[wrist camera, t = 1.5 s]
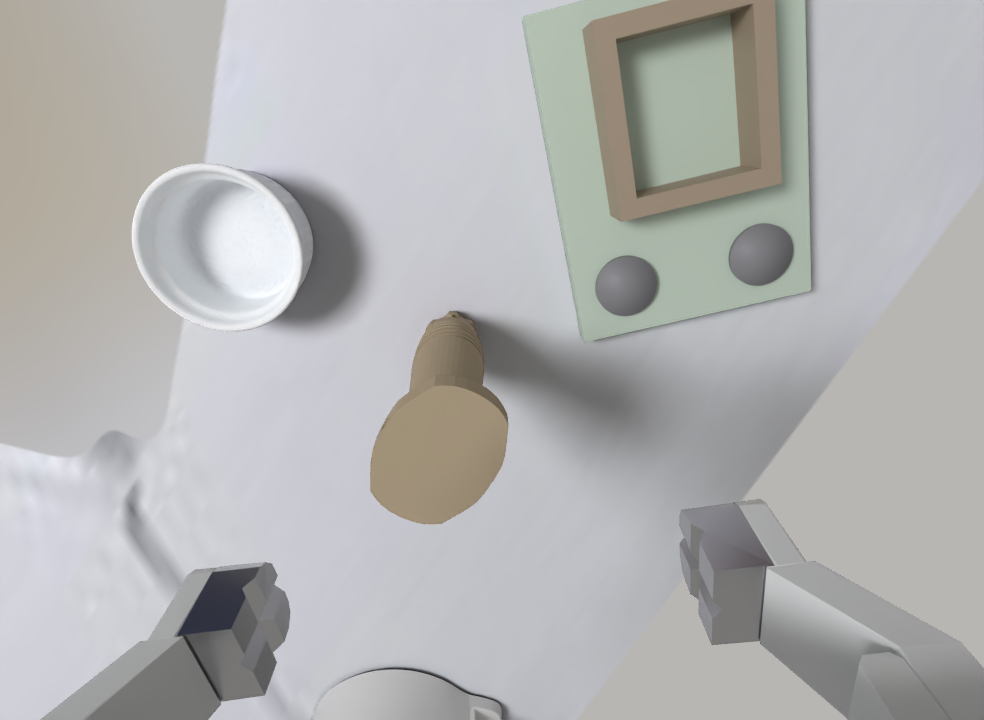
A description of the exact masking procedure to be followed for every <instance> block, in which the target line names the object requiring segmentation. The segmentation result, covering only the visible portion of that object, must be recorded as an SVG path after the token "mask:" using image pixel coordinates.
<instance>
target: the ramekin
mask: <svg viewBox="0 0 984 720" xmlns="http://www.w3.org/2000/svg"><path fill="white" fill-rule="evenodd" d="M132 246H133V251H134V256H135V259H136V262H137V265H138V267H139V270H140V272H141V274H142V275H143V277H144V279H145V281H146V282H147V284H148V285H149V287H150V289H151V290H152V291H153V292H154V293H155V294H156V296H157V297H158V298H159V299H160V300H161V301H162V302H163V303H164V304H165V305H167V306H168V307H169V308H170V309H171V310H173V311H174V312H175V313H177V314H179V315H180V316H182V317H183V318H185V319H187V320H189V321H191V322H193V323H196V324H198V325H200V326H203V327H206V328H209V329H214V330H220V331H245V330H251V329H254V328H257V327H260V326H262V325H265V324H267V323H269V322H271V321H272V320H274V319H275V318H277V317H278V316H279V315H280V314H281V313H283V312H284V311H285V310H286V308H287V307H288V306H289V305H290V304H291V302H292V301H293V299H294V297H295V296H296V294H297V292H298V289H299V287H300V286H301V285H302V283H303V281H304V279H305V277H306V275H307V272H308V270H309V267H310V264H311V260H312V257H313V246H314V244H313V236H312V232H311V227H310V225H309V222H308V220H307V217H306V215H305V213H304V212H303V210H302V208H301V207H300V205H299V204H298V202H297V201H296V200H295V199H294V198H293V197H292V195H291V194H290V193H289V192H288V191H286V190H285V189H284V188H283V187H282V186H281V185H279V184H277V183H276V182H275V181H273V180H272V179H269V178H267V177H266V176H264V175H260V174H257V173H255V172H251V171H246V170H242V169H235V168H232V167H228V166H224V165H219V164H211V163H195V164H189V165H184V166H181V167H178V168H175V169H173V170H170V171H168V172H166V173H164V174H163V175H161V176H160V177H159V178H157V179H156V180H155V181H154V182H153V183H152V184H151V185H150V186H149V187H148V188H147V189H146V191H145V192H144V193H143V195H142V197H141V199H140V201H139V202H138V204H137V208H136V210H135V214H134V218H133V224H132Z"/></svg>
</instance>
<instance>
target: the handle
mask: <svg viewBox="0 0 984 720" xmlns="http://www.w3.org/2000/svg"><path fill="white" fill-rule="evenodd" d="M483 376H484V357H483V350H482V346H481V342H480V339H479V337H478V334H477V333H476V326H475V324H474V323H473V321H472V320H470V319H469V320H468V319H465V318H463V317H461V316H460V315H459V314H458V313H457V312H456V311H450V312H449V313H448V314H447V315H446V316H444V317H443V318H440V319H437V320H432V321H431V322H430V323H429V325H428V327H427V329H426V332H425V333H424V335H423V336H422V339H421V341H420V343H419V345H418V347H417V350H416V354H415V357H414V360H413V364H412V373H411V382H410V390H409V393H407V394H406V395H405V396H404V397H402V398H401V399H400V400H399V401H398V402H397V403H396V404H395V406H394V407H393V409H392V410H391V412H390V413H389V415H388V417H387V418H386V420H385V422H384V424H383V426H382V427H381V429H380V431H379V434H378V436H377V438H376V441H375V445H374V448H373V452H372V458H371V472H370V491H371V493H372V494H373V496H374V497H375V498H376V500H377V501H378V502H379V503H380V504H381V505H382V506H383V507H385V508H386V509H387V510H389V511H390V512H392V513H394V514H396V515H398V516H399V517H402V518H404V519H407V520H410V521H413V522H417V523H422V524H442V523H444V522H445V521H447V520H449V519H451V518H453V517H454V516H456V515H458V514H459V513H461V512H463V511H465V510H466V509H468V508H469V507H471V506H472V505H473V504H475V503H476V502H477V501H478V500H479V499H480V498H481V497H482V495H483V494H484V493H485V492H486V490H487V489H488V487H489V486H490V484H491V483H492V481H493V480H494V479H495V477H496V476H497V474H498V472H499V470H500V468H501V467H502V464H503V460H504V457H505V451H506V443H507V434H508V417H507V413H506V411H505V409H504V407H503V405H502V403H501V402H500V401H499V399H498V398H497V397H496V396H495V395H494V394H493V393H492V392H491V391H490V390H488V389H487V388H485V387H484V386H482V384H483Z"/></svg>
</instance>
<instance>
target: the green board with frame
mask: <svg viewBox="0 0 984 720" xmlns="http://www.w3.org/2000/svg"><path fill="white" fill-rule="evenodd" d="M522 25H523V30H524V35H525V41H526V46H527V51H528V57H529V62H530V68H531V73H532V78H533V84H534V89H535V94H536V100H537V105H538V111H539V116H540V121H541V127H542V132H543V137H544V143H545V148H546V154H547V159H548V164H549V170H550V175H551V180H552V186H553V191H554V197H555V202H556V207H557V213H558V218H559V223H560V229H561V234H562V240H563V245H564V250H565V256H566V261H567V266H568V272H569V277H570V283H571V288H572V293H573V299H574V304H575V309H576V315H577V320H578V326H579V331H580V335H581V337H582V339H583V341H584V342H588V341H593V340H597V339H601V338H606V337H610V336H615V335H619V334H623V333H628V332H632V331H637V330H641V329H645V328H650V327H654V326H659V325H663V324H667V323H672V322H676V321H680V320H685V319H689V318H694V317H698V316H702V315H707V314H711V313H716V312H720V311H724V310H729V309H733V308H738V307H742V306H746V305H751V304H755V303H760V302H764V301H768V300H773V299H777V298H781V297H786V296H790V295H795V294H799V293H803V292H808V291H811V254H810V207H809V160H808V112H807V65H806V18H805V0H584V1H580V2H576V3H572V4H569V5H565V6H561V7H557V8H553V9H550V10H546V11H542V12H538V13H535V14H531V15H527V16H524V18H523V21H522Z"/></svg>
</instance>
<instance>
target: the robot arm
mask: <svg viewBox="0 0 984 720" xmlns="http://www.w3.org/2000/svg"><path fill="white" fill-rule="evenodd" d="M679 526H680V528H681V531H682V533H683V535H684V539H683V540H682V541H681V542H680V559H681V565H682V571H683V574H684V578H685V581H686V584H687V586H688V589H689V591H690V594H692V595H693V596H694V597H696V598H697V599H699V615H700V618H701V620H702V623H703V625H704V627H705V630H706V632H707V635H708V637H709V640H710V642H711V644H712V645H718V644H728V643H741V642H753V641H760V644H761V645H762V646H764V647H765V648H766V649H767V650H768V651H769V652H771V653H772V654H773V655H774V656H775V657H776V658H778V659H779V660H780V661H781V662H782V663H783V664H784V665H786V666H787V667H788V668H789V669H790V670H791V671H793V672H794V673H795V674H796V675H797V676H798V677H800V678H801V679H802V680H803V681H804V682H805V683H807V684H808V685H809V686H810V687H811V688H812V689H814V690H815V691H816V692H817V693H818V694H819V695H821V696H822V697H823V698H824V699H825V700H826V701H827V702H829V703H830V704H831V705H832V706H833V707H834V708H836V709H837V710H838V711H839V712H840V713H842V714H843V715H844V716H845V717H846V718H847V719H848V720H984V668H983V667H982V666H981V664H980V663H979V662H978V661H977V660H976V659H975V657H974V656H973V655H972V654H971V653H970V652H969V651H968V649H967V648H966V647H965V646H964V645H963V644H962V642H960V641H958V640H957V639H955V638H953V637H951V636H949V635H947V634H946V633H944V632H942V631H940V630H938V629H937V628H935V627H933V626H931V625H929V624H928V623H926V622H924V621H922V620H920V619H919V618H917V617H915V616H913V615H911V614H909V613H908V612H906V611H904V610H902V609H900V608H899V607H897V606H895V605H893V604H891V603H890V602H888V601H886V600H884V599H882V598H881V597H879V596H877V595H875V594H873V593H872V592H870V591H868V590H866V589H864V588H863V587H861V586H859V585H857V584H855V583H853V582H852V581H850V580H848V579H846V578H844V577H843V576H841V575H839V574H837V573H835V572H833V571H832V570H830V569H828V568H826V567H825V566H823V565H821V564H819V563H817V562H816V561H811V562H806V561H805V559H804V558H803V556H802V555H801V553H800V552H799V551H798V549H797V548H796V546H795V545H794V543H793V542H792V540H791V539H790V537H789V536H788V535H787V533H786V532H785V530H784V529H783V527H782V526H781V524H780V523H779V522H778V520H777V519H776V517H775V516H774V514H773V513H772V511H771V510H770V509H769V507H768V506H767V504H766V503H765V502H764V501H763V500H761V499H756V500H750V501H742V502H735V503H733V504H732V503H729V504H722V505H715V506H707V507H700V508H692V509H685V510H681V512H680V522H679ZM277 576H278V575H277V573H276V571H275V569H274V567H273V565H272V564H271V563H267V562H263V563H253V564H243V565H233V566H223V567H218V568H209V569H197V570H194V571H193V572H191V573H190V574H188V575H187V577H186V579H185V580H184V582H183V584H182V585H181V587H180V588H179V590H178V592H177V593H176V595H175V597H174V598H173V600H172V602H171V603H170V605H169V606H168V608H167V610H166V611H165V613H164V615H163V616H162V618H161V619H160V621H159V623H158V624H157V626H156V628H155V629H154V631H153V633H152V634H151V636H150V637H149V639H148V640H147V641H140V642H139V643H137V644H136V645H135V646H134V647H132V648H131V649H130V650H128V651H127V652H126V653H125V654H123V655H122V656H121V657H120V658H118V659H117V660H116V661H114V662H113V663H112V664H111V665H109V666H108V667H107V668H105V669H104V670H103V671H102V672H100V673H99V674H98V675H97V676H95V677H94V678H93V679H91V680H90V681H89V682H88V683H86V684H85V685H84V686H83V687H81V688H80V689H79V690H77V691H76V692H75V693H74V694H72V695H71V696H70V697H68V698H67V699H66V700H65V701H63V702H62V703H61V704H60V705H58V706H57V707H56V708H54V709H53V710H52V711H51V712H49V713H48V714H47V715H46V716H44V717H43V718H42V719H40V720H208V719H209V718H210V717H211V715H212V714H213V713H214V712H215V711H216V710H217V708H218V707H219V706H220V705H221V702H222V701H229V700H236V699H242V698H249V697H256V696H263V695H265V693H266V691H267V688H268V685H269V682H270V680H271V677H272V674H273V671H274V669H275V666H276V663H277V662H276V659H275V657H274V654H273V652H274V651H275V650H276V649H277V648H278V647H279V646H280V645H281V644H282V643H283V642H284V641H285V638H286V635H287V632H288V629H289V621H290V608H289V602H288V599H287V596H286V594H285V592H284V591H283V590H281V589H280V588H278V587H277V586H275V585H274V583H275V581H276V578H277ZM312 720H502V709H501V706H500V705H499V704H498V703H497V702H495V701H493V700H490V699H486V698H483V697H478V696H473V695H469V694H467V693H464V692H463V691H461V690H459V689H458V688H456V687H454V686H453V685H451V684H449V683H448V682H446V681H444V680H442V679H439V678H437V677H434V676H431V675H428V674H425V673H421V672H416V671H409V670H379V671H372V672H367V673H363V674H360V675H357V676H354V677H351V678H349V679H347V680H345V681H343V682H341V683H339V684H338V685H336V686H335V687H333V688H332V689H331V690H329V691H328V692H327V693H326V694H325V695H324V696H323V698H322V699H321V700H320V702H319V703H318V705H317V707H316V709H315V711H314V714H313V717H312Z"/></svg>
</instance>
